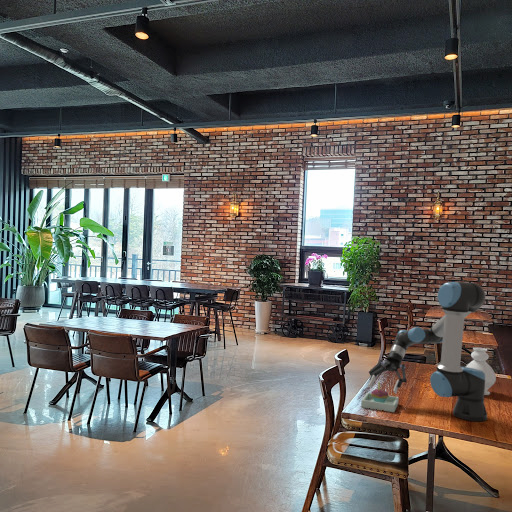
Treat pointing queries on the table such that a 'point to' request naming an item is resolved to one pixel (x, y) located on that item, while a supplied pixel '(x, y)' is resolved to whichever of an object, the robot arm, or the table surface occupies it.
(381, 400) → the cupcake
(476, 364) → the decorative vase
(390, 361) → the robot arm
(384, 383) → the table surface
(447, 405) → the table surface
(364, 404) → the tray
